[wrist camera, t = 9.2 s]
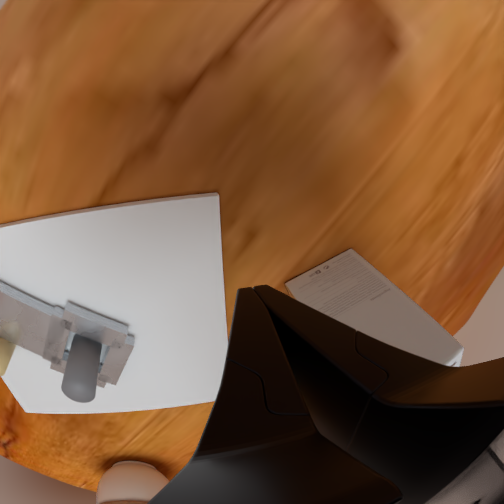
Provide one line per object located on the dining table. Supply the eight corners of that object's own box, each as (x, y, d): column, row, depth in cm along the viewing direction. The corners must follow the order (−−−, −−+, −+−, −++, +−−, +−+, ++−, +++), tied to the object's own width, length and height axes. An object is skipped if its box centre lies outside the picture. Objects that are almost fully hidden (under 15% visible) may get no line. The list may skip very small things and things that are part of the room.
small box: (281, 282, 24) (372, 414, 13) (351, 245, 24) (468, 345, 13) (307, 346, 28) (377, 458, 17) (365, 314, 28) (449, 409, 17)
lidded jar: (187, 462, 32) (201, 524, 24) (155, 488, 35) (164, 540, 26) (107, 444, 28) (109, 514, 19) (87, 473, 30) (88, 529, 22)
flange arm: (138, 329, 21) (137, 387, 16) (113, 382, 23) (111, 436, 18) (-29, 253, 15) (-67, 294, 10) (-33, 317, 16) (-60, 362, 12)
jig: (230, 391, 28) (245, 440, 23) (27, 406, 23) (17, 450, 18) (217, 192, 20) (237, 222, 15) (-56, 237, 14) (-95, 273, 9)
